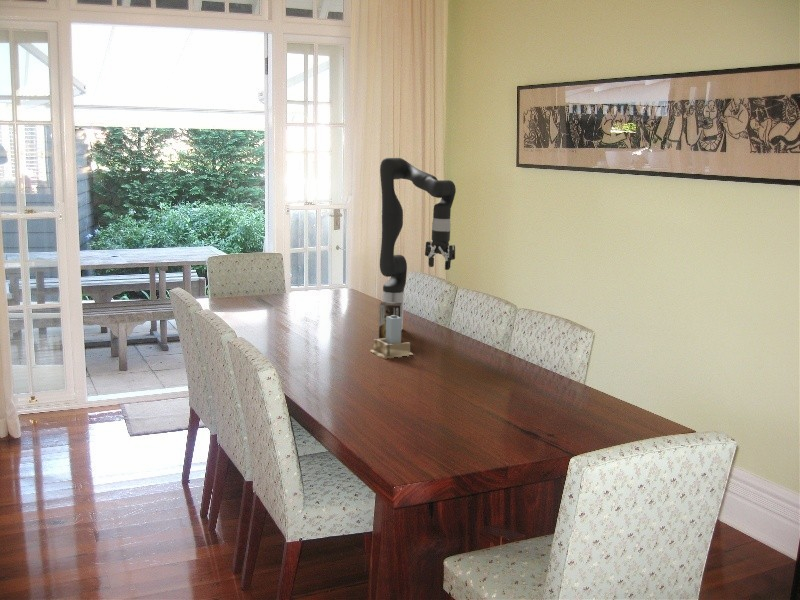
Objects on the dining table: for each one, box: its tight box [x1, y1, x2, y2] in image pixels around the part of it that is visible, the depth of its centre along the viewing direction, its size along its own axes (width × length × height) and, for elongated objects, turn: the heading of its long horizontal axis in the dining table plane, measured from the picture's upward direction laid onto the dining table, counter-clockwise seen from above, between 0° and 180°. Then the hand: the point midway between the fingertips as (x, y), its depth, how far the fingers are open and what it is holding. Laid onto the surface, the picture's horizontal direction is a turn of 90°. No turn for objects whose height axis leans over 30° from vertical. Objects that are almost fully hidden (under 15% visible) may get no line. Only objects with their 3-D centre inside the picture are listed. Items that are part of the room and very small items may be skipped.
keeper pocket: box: [369, 338, 414, 360], centre depth 350 cm, size 12×13×5 cm
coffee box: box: [378, 301, 402, 339], centre depth 370 cm, size 9×6×16 cm
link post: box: [386, 315, 402, 344], centre depth 349 cm, size 4×4×15 cm
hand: (439, 268), depth 365 cm, fingers open, 8 cm apart
